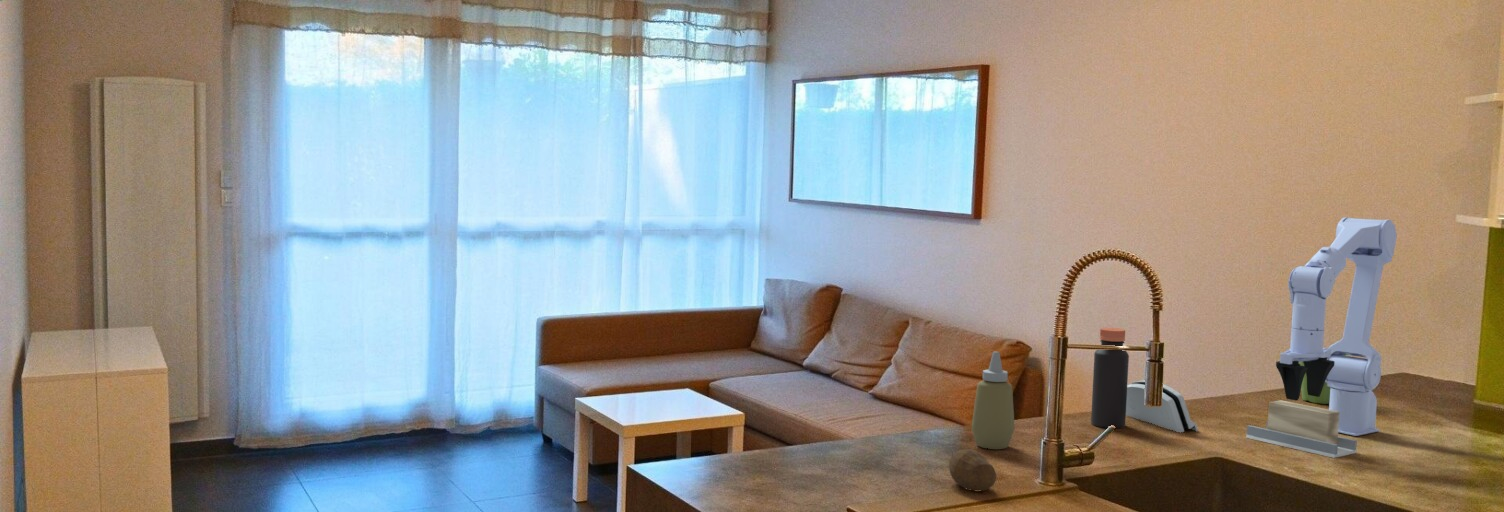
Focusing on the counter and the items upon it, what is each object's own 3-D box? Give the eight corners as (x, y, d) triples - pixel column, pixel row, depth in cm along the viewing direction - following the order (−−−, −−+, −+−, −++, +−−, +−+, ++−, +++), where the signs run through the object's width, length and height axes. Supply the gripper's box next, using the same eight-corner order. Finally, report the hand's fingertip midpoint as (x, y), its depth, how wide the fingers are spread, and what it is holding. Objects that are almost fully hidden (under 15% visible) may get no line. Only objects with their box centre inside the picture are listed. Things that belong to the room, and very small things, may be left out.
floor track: (1268, 433, 236) (1269, 421, 236) (1356, 452, 221) (1357, 440, 221) (1245, 437, 231) (1246, 425, 231) (1334, 457, 216) (1334, 445, 216)
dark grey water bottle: (1089, 426, 237) (1094, 330, 236) (1092, 420, 244) (1097, 326, 242) (1123, 430, 235) (1128, 332, 233) (1126, 423, 241) (1131, 328, 240)
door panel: (1278, 434, 232) (1280, 400, 231) (1337, 447, 222) (1339, 411, 221) (1267, 436, 230) (1269, 402, 229) (1325, 450, 220) (1328, 413, 219)
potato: (970, 498, 184) (972, 459, 184) (936, 482, 193) (937, 445, 193) (1004, 494, 187) (1006, 456, 187) (968, 478, 196) (970, 442, 196)
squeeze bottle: (1018, 444, 221) (1022, 351, 219) (1008, 453, 213) (1013, 357, 212) (976, 439, 224) (980, 347, 222) (965, 448, 217) (969, 353, 215)
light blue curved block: (1199, 431, 236) (1188, 386, 234) (1181, 440, 234) (1170, 395, 232) (1144, 413, 251) (1134, 371, 249) (1127, 422, 250) (1116, 380, 248)
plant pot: (1357, 407, 264) (1361, 358, 263) (1305, 406, 264) (1308, 357, 263) (1332, 397, 276) (1335, 350, 275) (1282, 395, 276) (1285, 348, 275)
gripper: (1306, 333, 217) (1302, 405, 218) (1348, 328, 225) (1343, 397, 226) (1271, 328, 223) (1267, 398, 224) (1313, 324, 231) (1308, 391, 232)
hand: (1303, 397), depth 225 cm, fingers open, 7 cm apart
